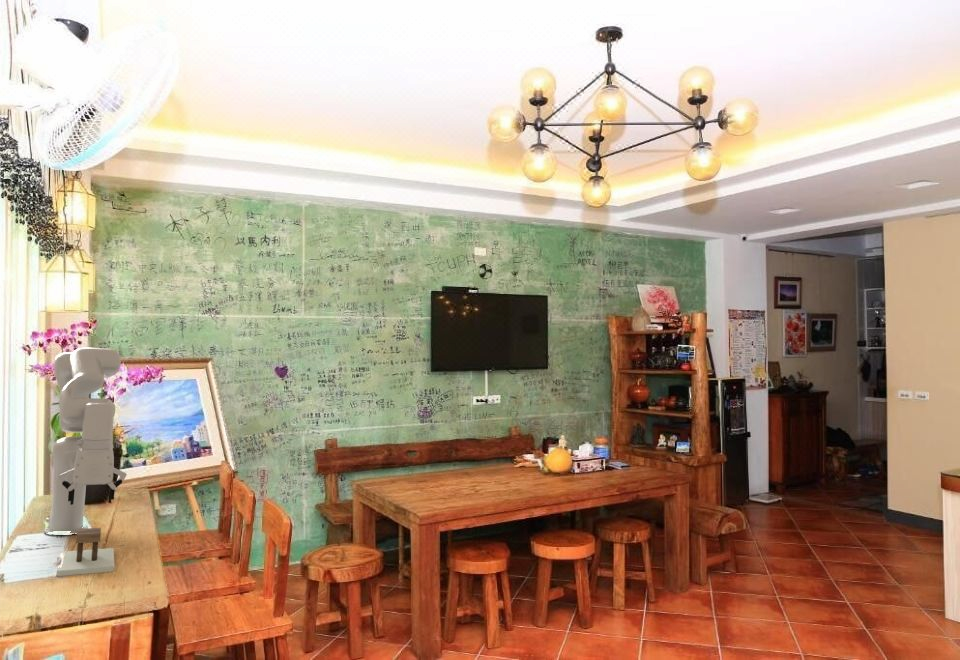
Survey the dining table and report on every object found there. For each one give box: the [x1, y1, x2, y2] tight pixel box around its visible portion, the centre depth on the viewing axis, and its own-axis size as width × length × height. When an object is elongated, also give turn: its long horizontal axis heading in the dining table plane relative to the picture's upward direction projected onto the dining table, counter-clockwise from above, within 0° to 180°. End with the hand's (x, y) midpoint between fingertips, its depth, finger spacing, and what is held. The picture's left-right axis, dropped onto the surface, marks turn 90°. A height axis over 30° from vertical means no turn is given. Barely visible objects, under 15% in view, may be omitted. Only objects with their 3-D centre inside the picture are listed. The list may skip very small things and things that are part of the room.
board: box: [56, 547, 115, 577], centre depth 199 cm, size 18×14×2 cm
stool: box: [75, 527, 102, 562], centre depth 199 cm, size 6×6×8 cm
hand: (91, 502), depth 200 cm, fingers open, 9 cm apart
